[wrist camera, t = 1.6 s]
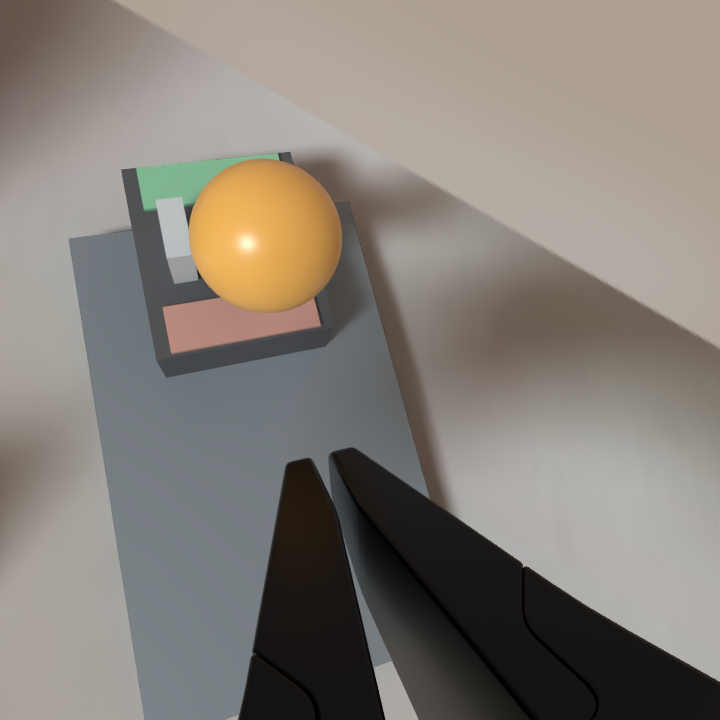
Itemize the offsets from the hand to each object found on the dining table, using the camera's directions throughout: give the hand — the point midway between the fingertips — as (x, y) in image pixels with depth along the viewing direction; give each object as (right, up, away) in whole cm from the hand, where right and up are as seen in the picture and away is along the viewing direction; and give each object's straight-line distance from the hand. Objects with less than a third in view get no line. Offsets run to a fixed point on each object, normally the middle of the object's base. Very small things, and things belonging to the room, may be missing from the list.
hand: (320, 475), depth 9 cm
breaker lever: (-4, +6, +11) cm, 13 cm away
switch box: (-3, -1, +13) cm, 14 cm away
